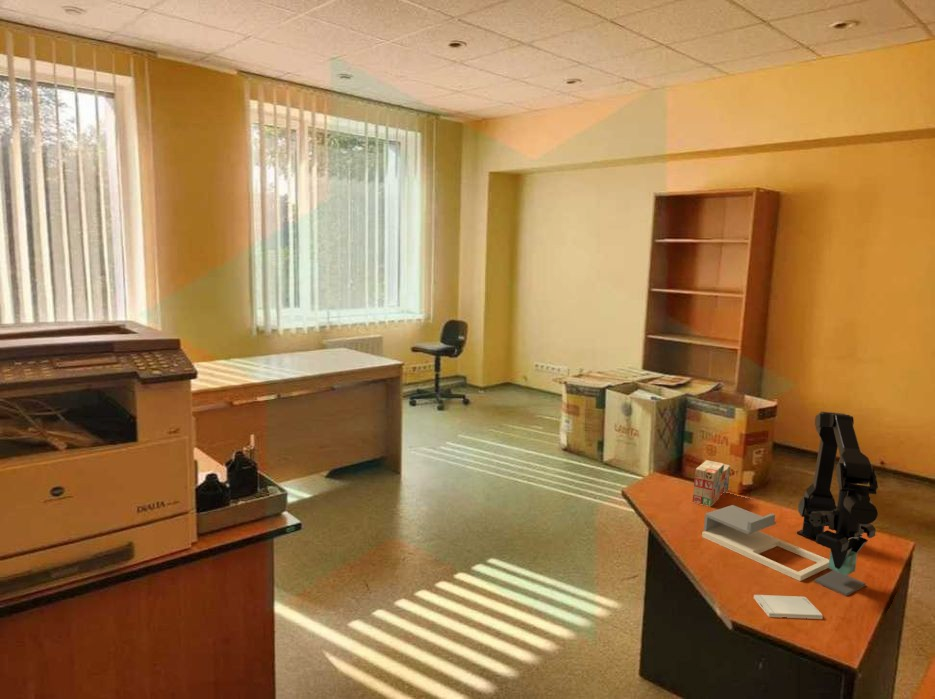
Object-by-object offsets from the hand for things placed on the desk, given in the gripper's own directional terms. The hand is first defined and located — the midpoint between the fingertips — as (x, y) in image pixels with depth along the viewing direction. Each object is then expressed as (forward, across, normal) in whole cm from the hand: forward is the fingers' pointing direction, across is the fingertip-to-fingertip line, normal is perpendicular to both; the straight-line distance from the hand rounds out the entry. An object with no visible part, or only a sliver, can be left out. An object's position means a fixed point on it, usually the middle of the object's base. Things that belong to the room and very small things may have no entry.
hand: (841, 565), depth 162 cm
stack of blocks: (+5, -23, -54) cm, 59 cm away
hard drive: (+6, +24, -1) cm, 24 cm away
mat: (+5, 0, 0) cm, 5 cm away
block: (+1, 0, 0) cm, 1 cm away
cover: (+3, 0, -29) cm, 29 cm away
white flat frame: (+5, 0, -21) cm, 21 cm away
